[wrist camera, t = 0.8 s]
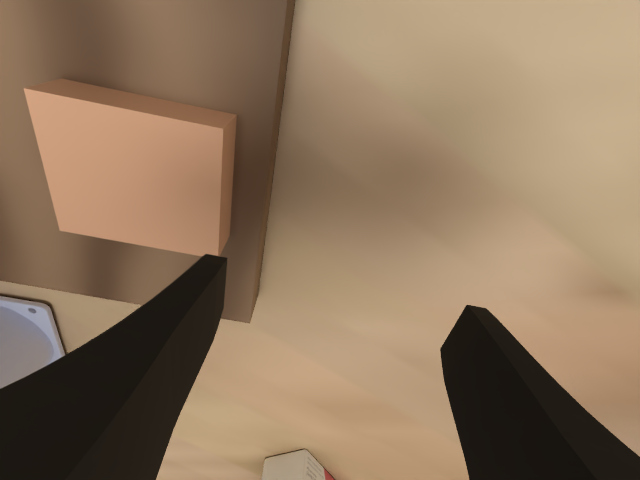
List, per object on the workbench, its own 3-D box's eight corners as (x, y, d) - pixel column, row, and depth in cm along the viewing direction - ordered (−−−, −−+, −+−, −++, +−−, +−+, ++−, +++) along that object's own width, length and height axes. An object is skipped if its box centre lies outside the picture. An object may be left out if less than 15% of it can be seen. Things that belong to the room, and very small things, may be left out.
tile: (86, 209, 17) (59, 230, 16) (61, 78, 14) (23, 88, 12) (229, 235, 18) (218, 259, 16) (236, 114, 15) (223, 128, 13)
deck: (4, 250, 22) (-31, 275, 20) (-182, -252, 11) (-298, -309, 9) (257, 294, 23) (249, 323, 21) (311, -128, 12) (305, -155, 10)
